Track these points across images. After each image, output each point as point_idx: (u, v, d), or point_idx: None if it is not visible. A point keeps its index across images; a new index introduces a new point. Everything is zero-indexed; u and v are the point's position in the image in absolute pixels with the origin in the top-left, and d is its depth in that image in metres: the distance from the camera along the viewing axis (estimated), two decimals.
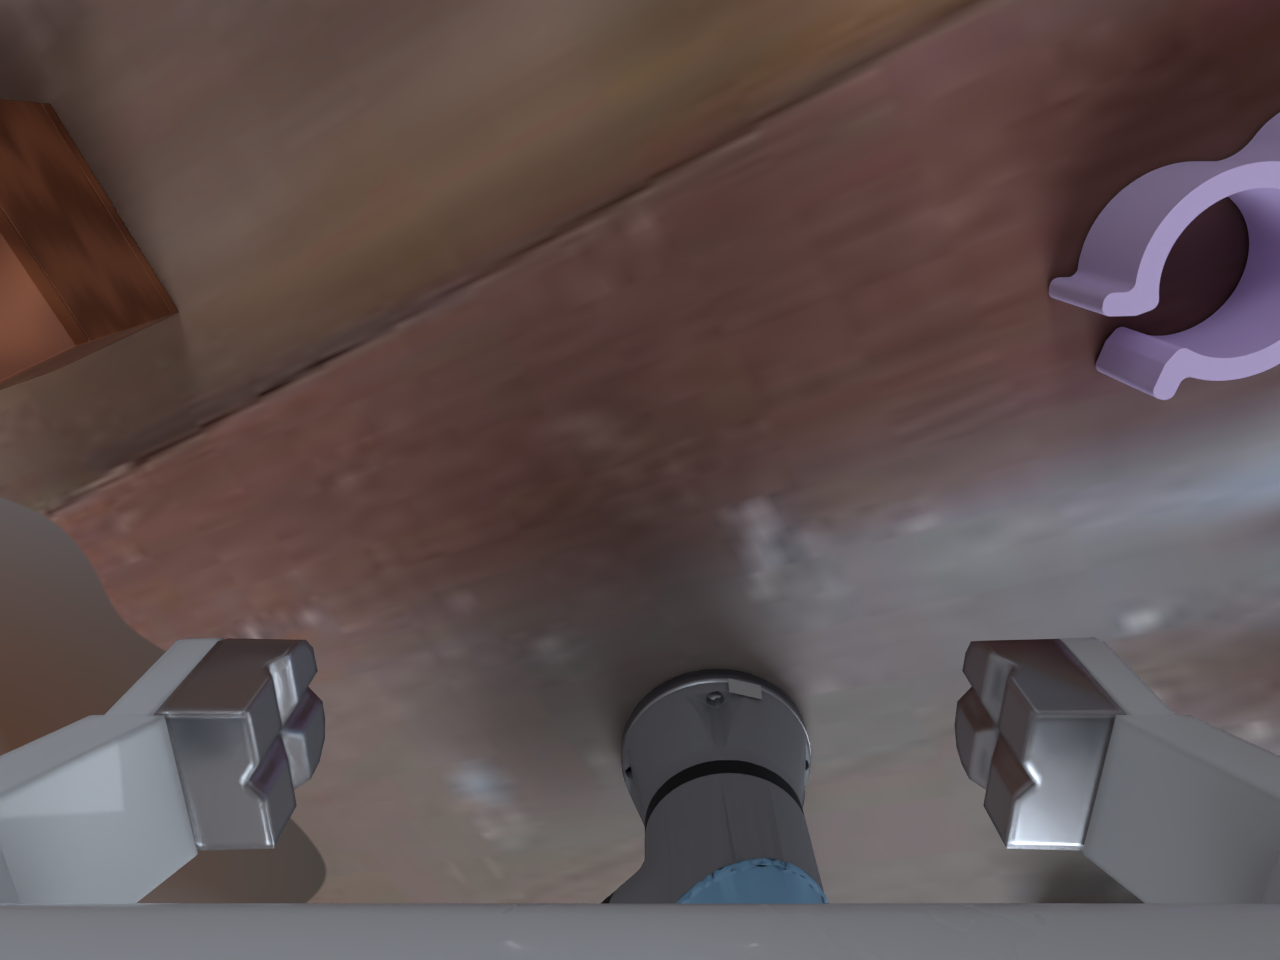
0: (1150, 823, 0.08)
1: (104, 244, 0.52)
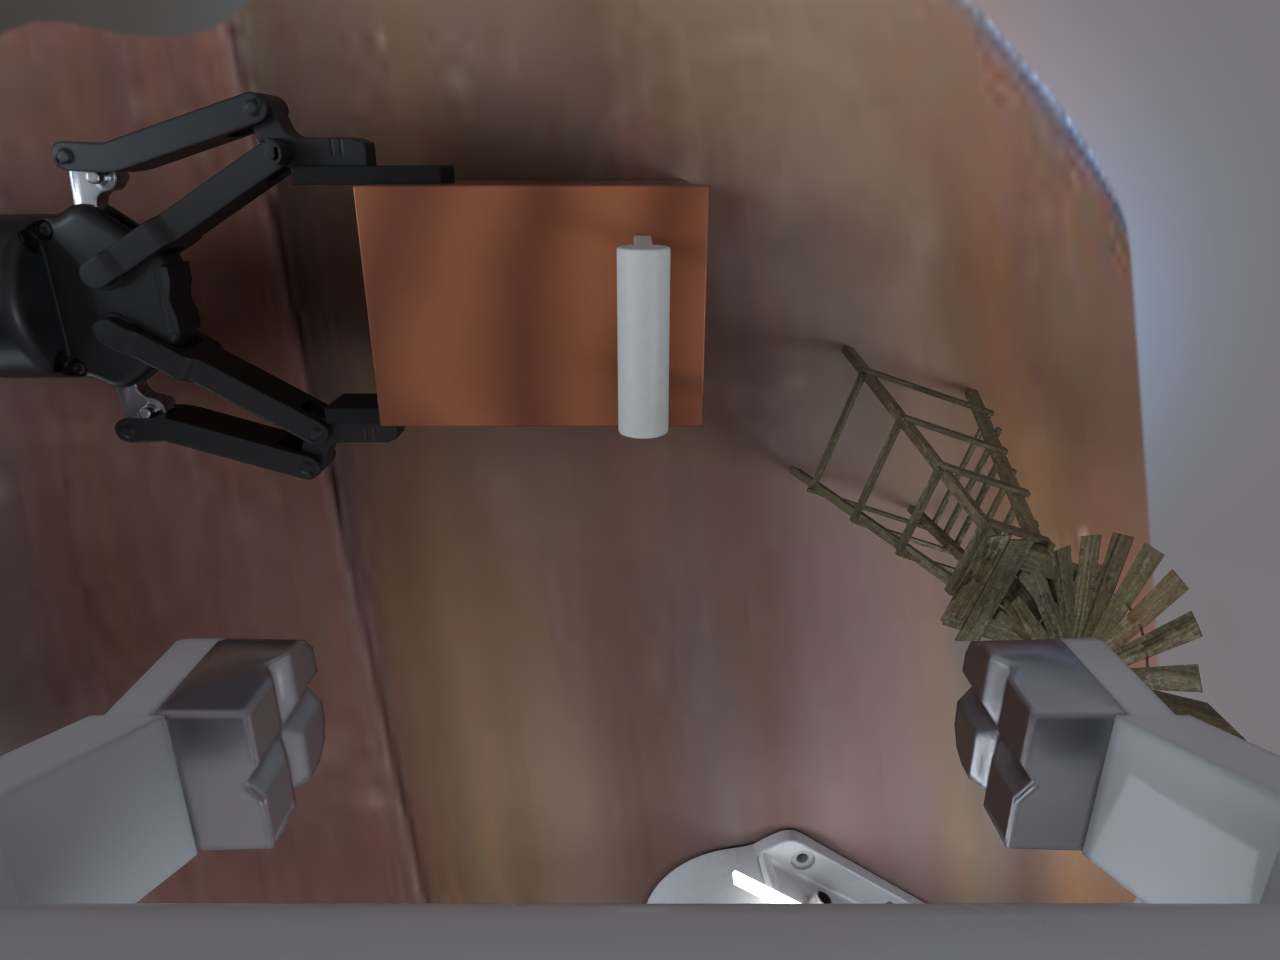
0: (1150, 823, 0.08)
1: None
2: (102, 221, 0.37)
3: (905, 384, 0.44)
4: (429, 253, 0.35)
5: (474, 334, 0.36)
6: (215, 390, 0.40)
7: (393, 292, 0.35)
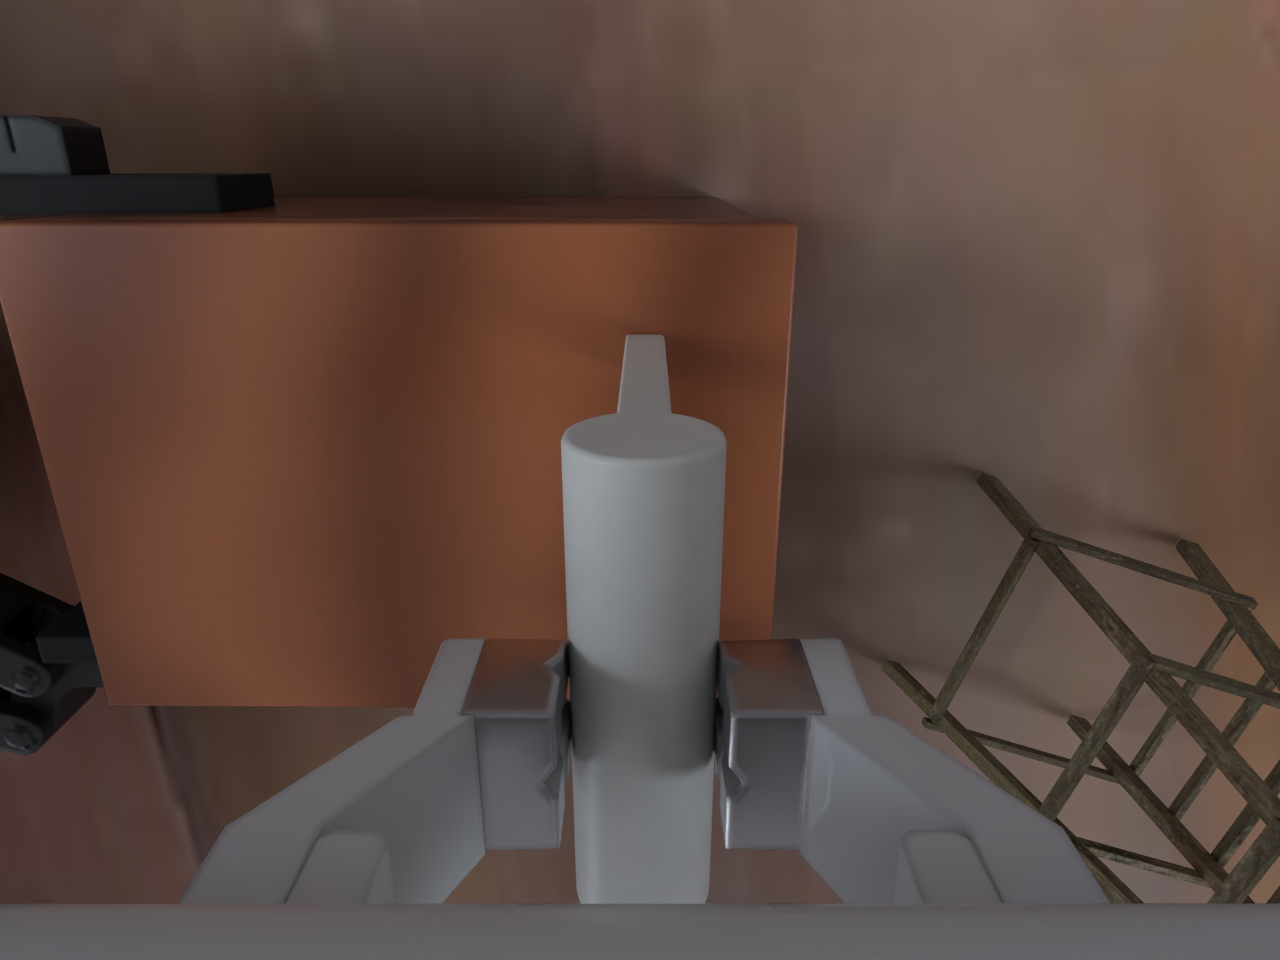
0: (842, 823, 0.08)
1: None
2: None
3: (1107, 558, 0.25)
4: (169, 372, 0.16)
5: (284, 536, 0.17)
6: None
7: (100, 452, 0.16)
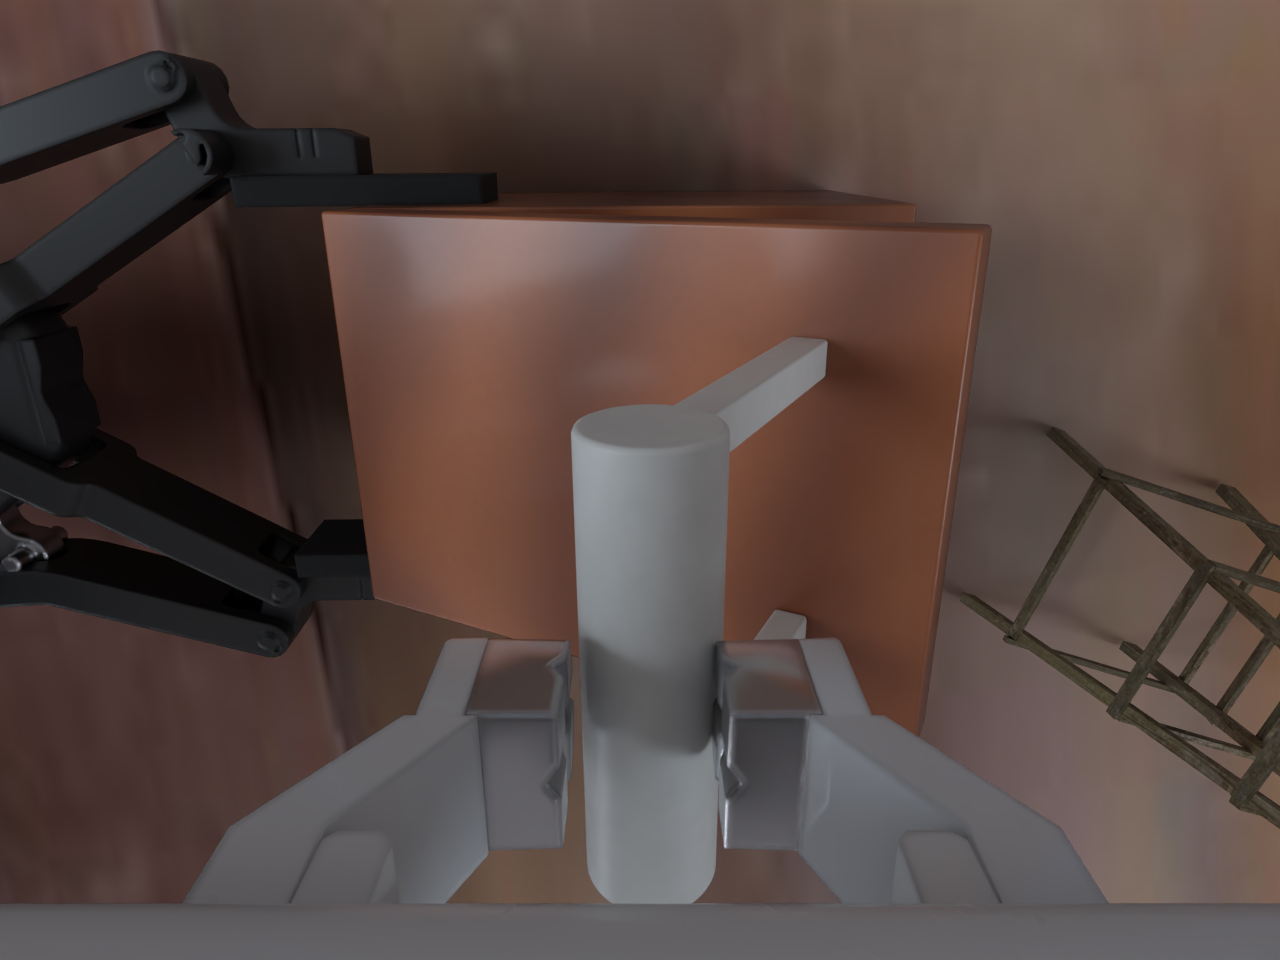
0: (840, 823, 0.08)
1: None
2: None
3: (1164, 493, 0.30)
4: (427, 336, 0.19)
5: (496, 485, 0.20)
6: (121, 530, 0.25)
7: (380, 395, 0.20)
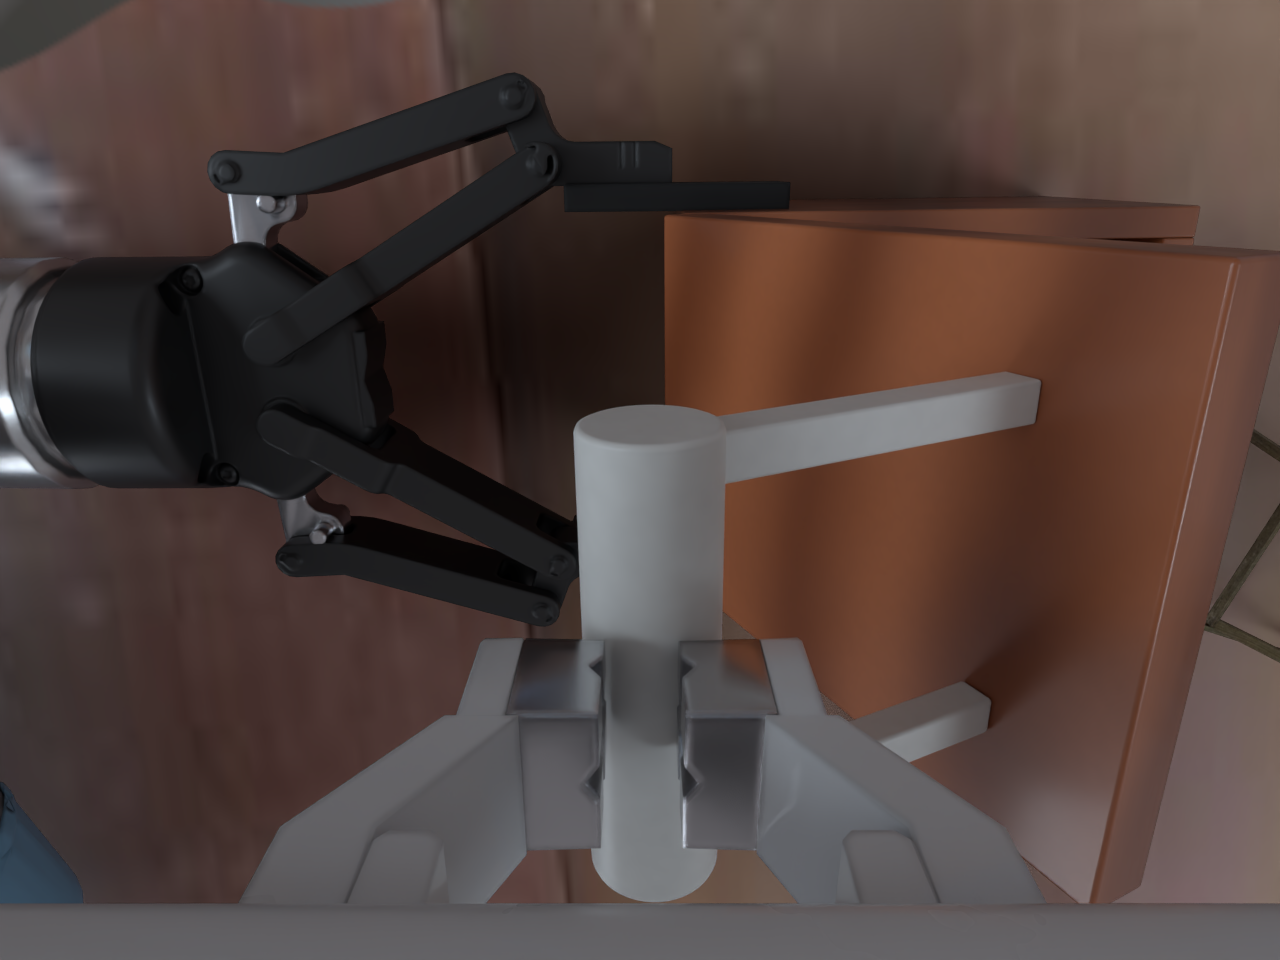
0: (795, 823, 0.08)
1: None
2: (276, 267, 0.25)
3: None
4: (718, 333, 0.21)
5: (751, 482, 0.20)
6: (422, 506, 0.28)
7: (685, 383, 0.22)
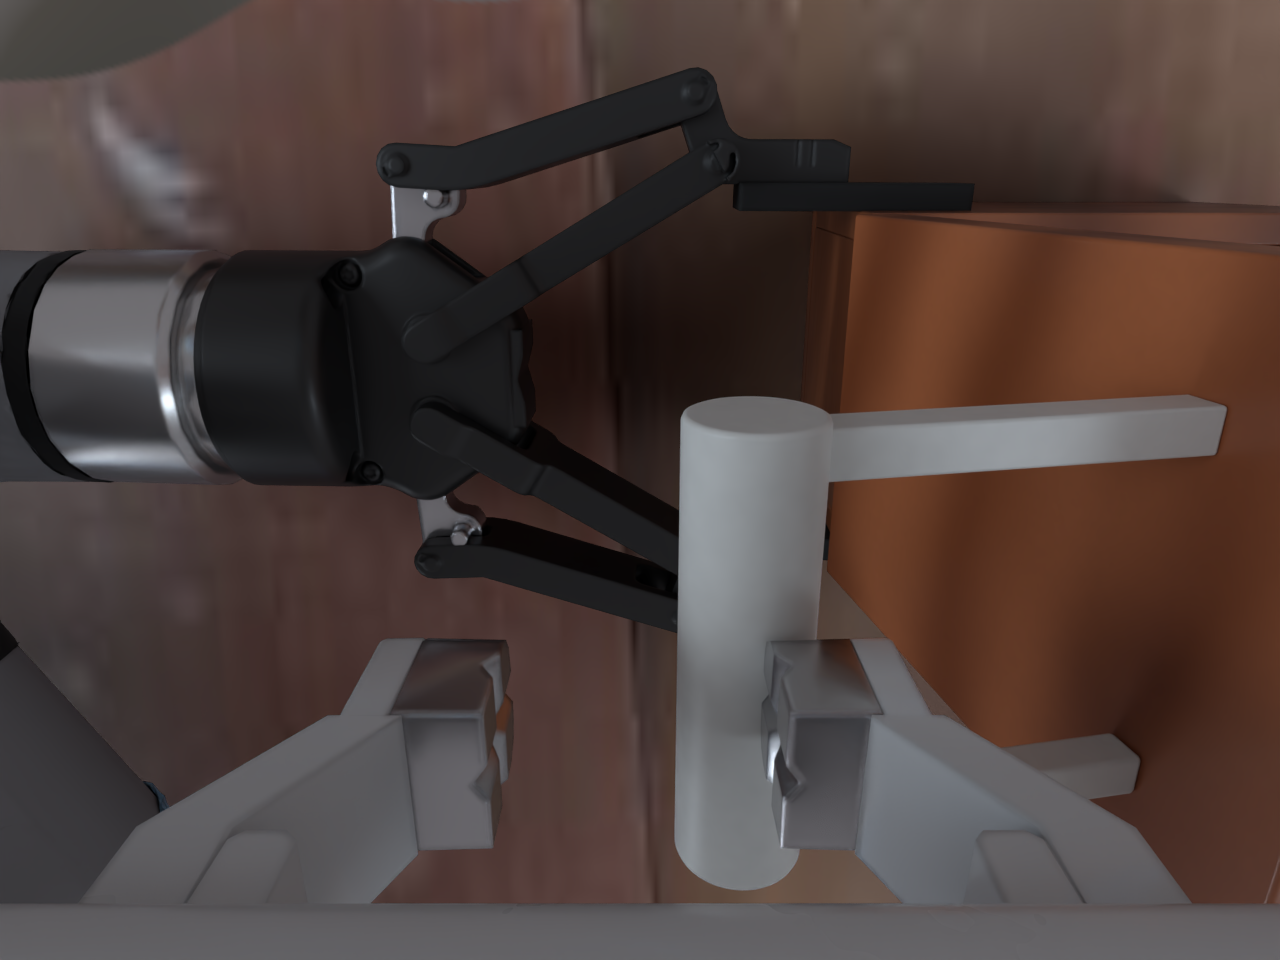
0: (902, 823, 0.08)
1: None
2: (436, 262, 0.25)
3: None
4: (896, 338, 0.20)
5: (914, 495, 0.19)
6: (568, 509, 0.27)
7: (860, 387, 0.22)
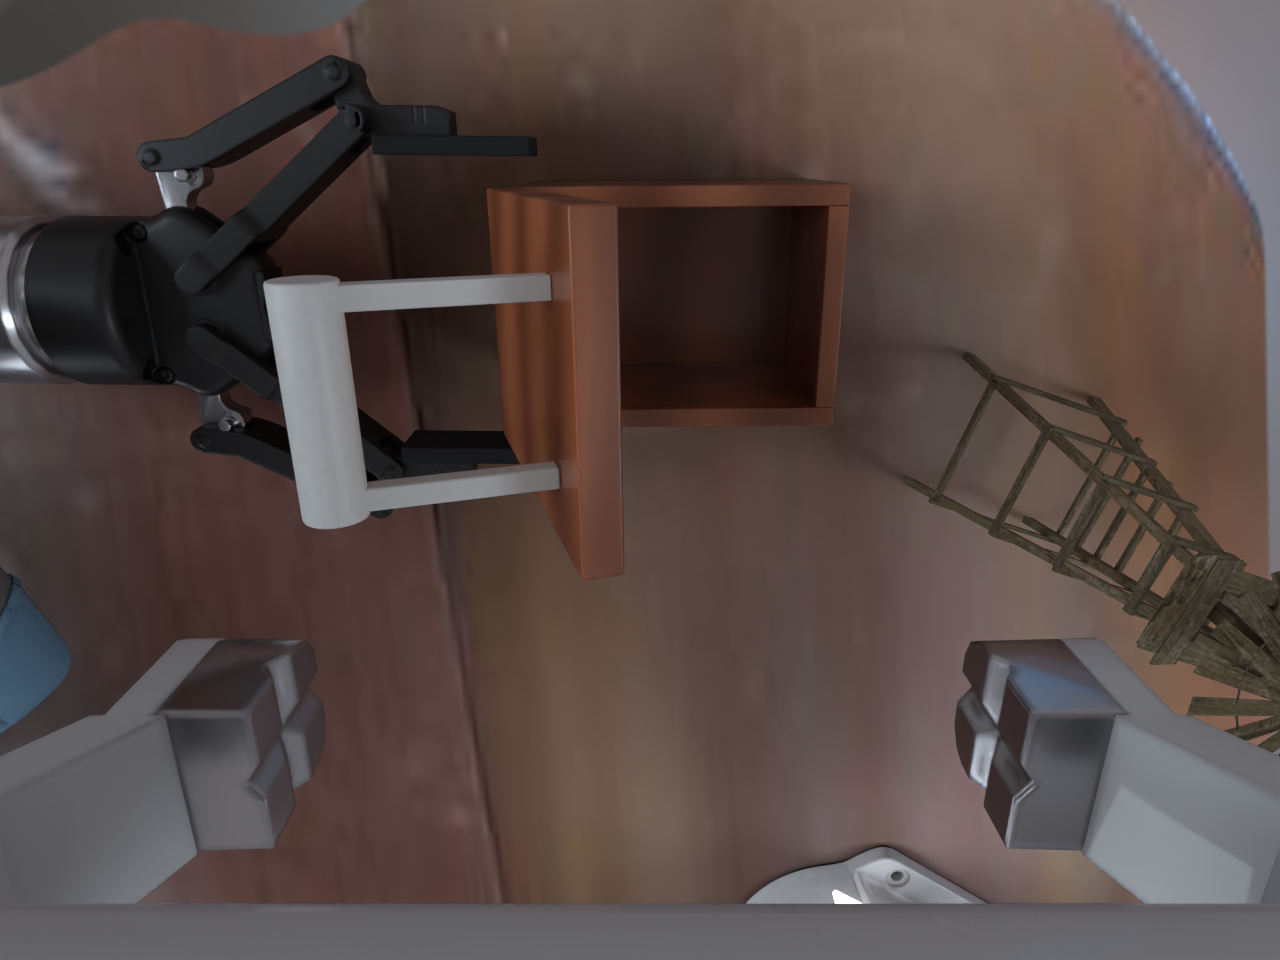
0: (1150, 823, 0.08)
1: None
2: (199, 224, 0.36)
3: (1037, 392, 0.43)
4: (502, 265, 0.31)
5: (514, 363, 0.31)
6: None
7: None
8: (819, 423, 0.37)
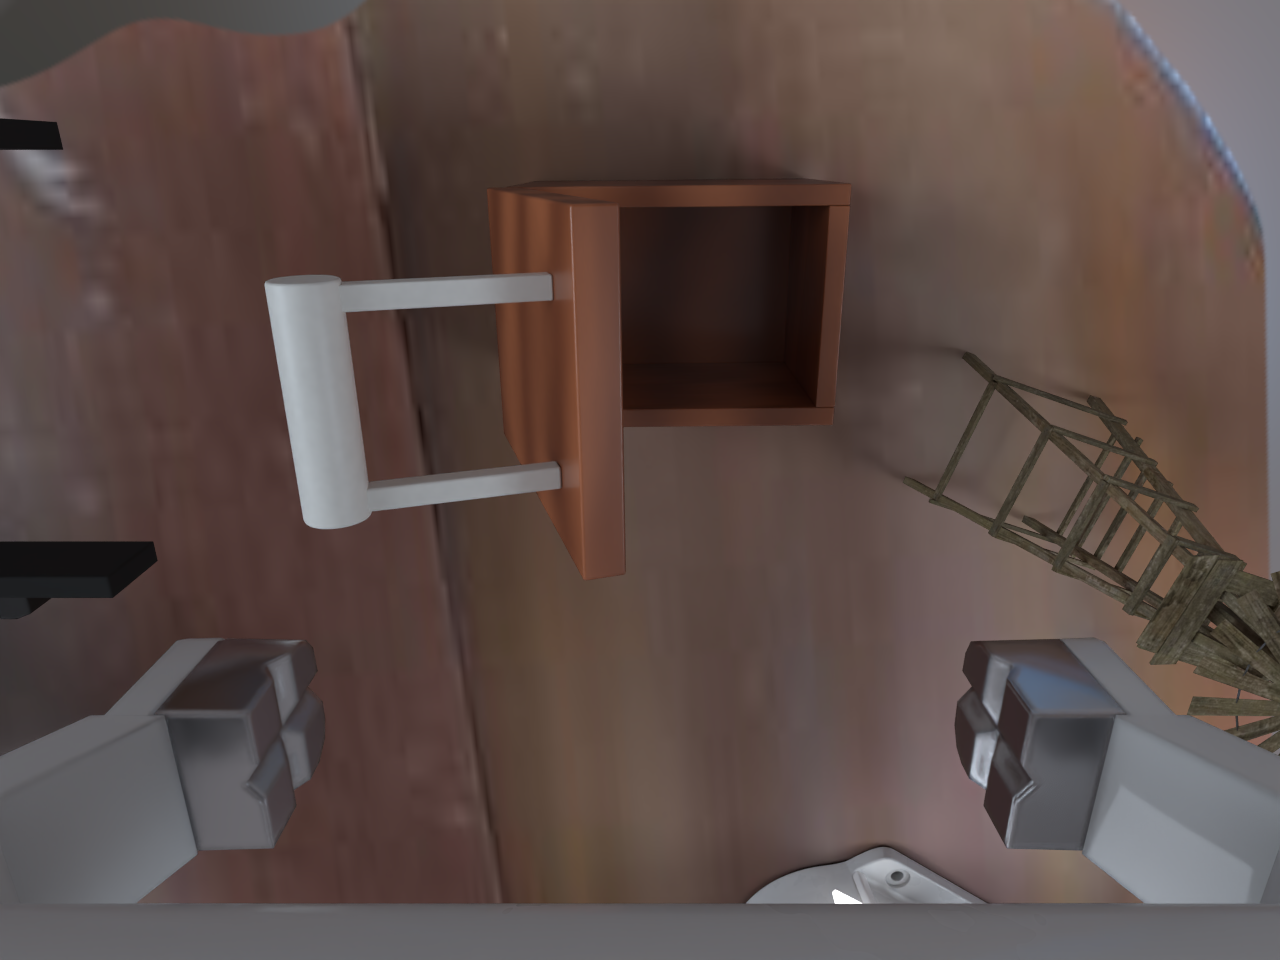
0: (1150, 823, 0.08)
1: None
2: None
3: (1037, 392, 0.43)
4: (502, 265, 0.31)
5: (515, 363, 0.31)
6: None
7: None
8: (819, 423, 0.37)
